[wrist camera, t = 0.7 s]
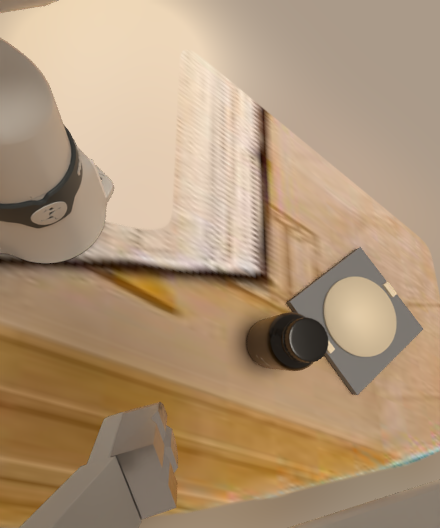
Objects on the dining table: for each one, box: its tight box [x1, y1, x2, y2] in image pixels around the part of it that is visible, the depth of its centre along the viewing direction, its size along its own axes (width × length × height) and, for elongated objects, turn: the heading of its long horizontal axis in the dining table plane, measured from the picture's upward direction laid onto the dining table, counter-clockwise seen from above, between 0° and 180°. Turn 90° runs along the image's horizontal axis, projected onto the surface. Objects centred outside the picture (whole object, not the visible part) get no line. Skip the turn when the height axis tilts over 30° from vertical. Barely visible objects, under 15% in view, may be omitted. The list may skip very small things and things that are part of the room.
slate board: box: [287, 247, 423, 395], centre depth 49 cm, size 16×16×2 cm
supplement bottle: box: [247, 312, 329, 371], centre depth 40 cm, size 7×7×12 cm
